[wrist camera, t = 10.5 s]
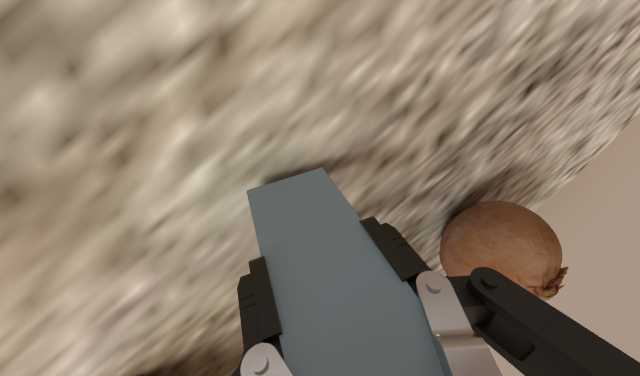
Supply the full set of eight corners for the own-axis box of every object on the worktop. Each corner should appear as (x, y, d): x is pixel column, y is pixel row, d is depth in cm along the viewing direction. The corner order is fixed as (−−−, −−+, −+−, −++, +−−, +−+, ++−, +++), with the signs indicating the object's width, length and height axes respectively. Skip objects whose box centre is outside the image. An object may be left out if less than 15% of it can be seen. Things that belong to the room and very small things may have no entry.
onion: (484, 163, 24) (615, 236, 16) (496, 211, 30) (596, 281, 22) (404, 226, 25) (491, 322, 18) (431, 261, 31) (505, 343, 23)
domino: (246, 190, 16) (304, 450, 6) (322, 167, 17) (466, 362, 7) (254, 209, 17) (313, 459, 7) (325, 186, 18) (455, 381, 8)
